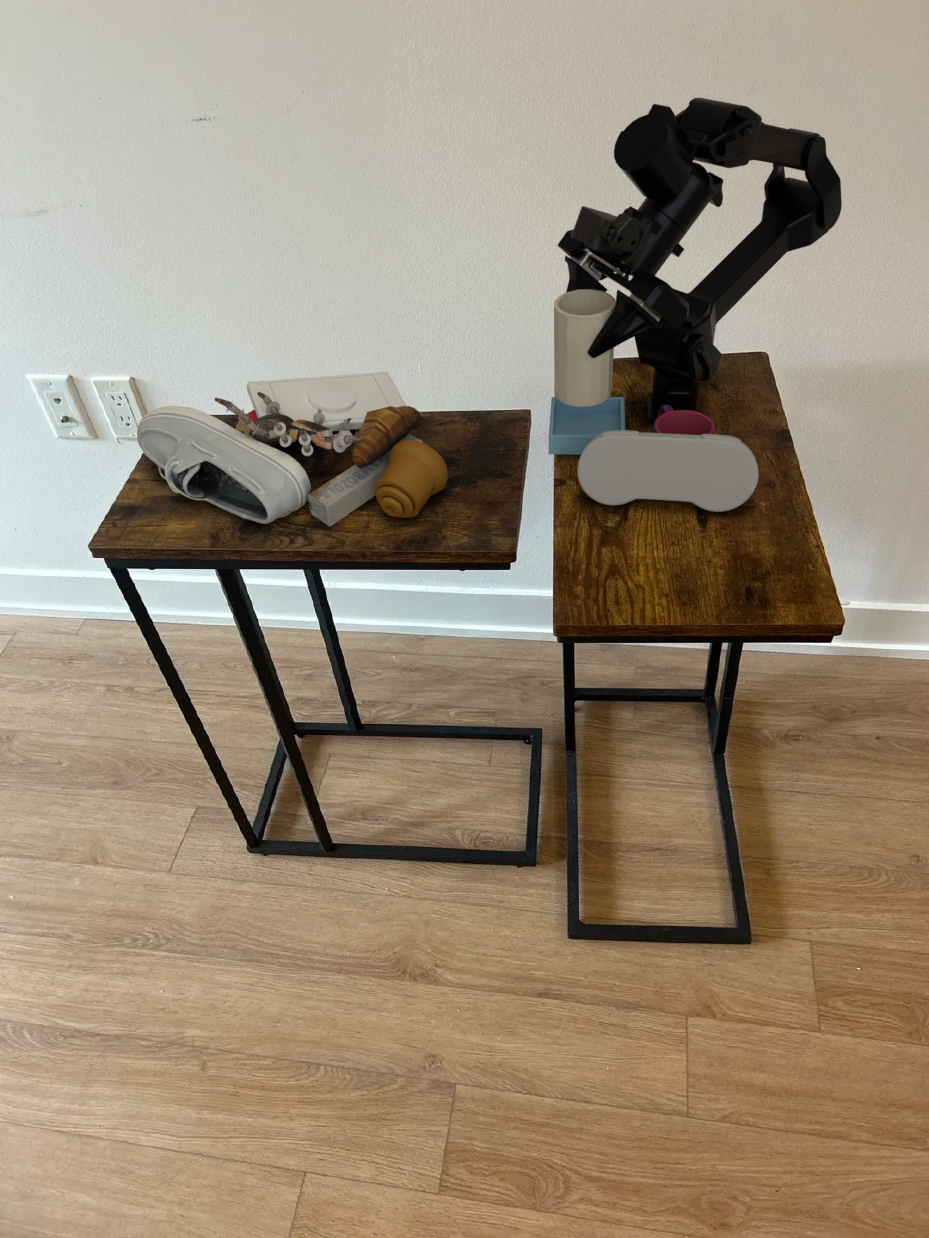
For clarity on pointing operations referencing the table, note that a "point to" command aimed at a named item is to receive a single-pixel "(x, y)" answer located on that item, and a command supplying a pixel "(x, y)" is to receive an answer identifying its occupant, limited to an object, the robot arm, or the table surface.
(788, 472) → the table surface
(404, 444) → the ornamental finial
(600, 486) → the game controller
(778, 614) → the table surface
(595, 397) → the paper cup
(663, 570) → the table surface
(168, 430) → the boat shoe
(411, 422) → the croissant
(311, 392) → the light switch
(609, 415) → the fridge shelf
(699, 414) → the cup
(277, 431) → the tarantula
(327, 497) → the grey printed bar
